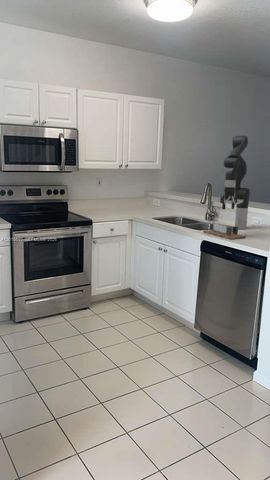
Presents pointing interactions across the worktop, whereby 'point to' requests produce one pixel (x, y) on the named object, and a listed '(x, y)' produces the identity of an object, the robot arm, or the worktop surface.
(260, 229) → the worktop surface
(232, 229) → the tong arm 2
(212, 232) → the tong rest
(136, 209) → the worktop surface
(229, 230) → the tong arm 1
